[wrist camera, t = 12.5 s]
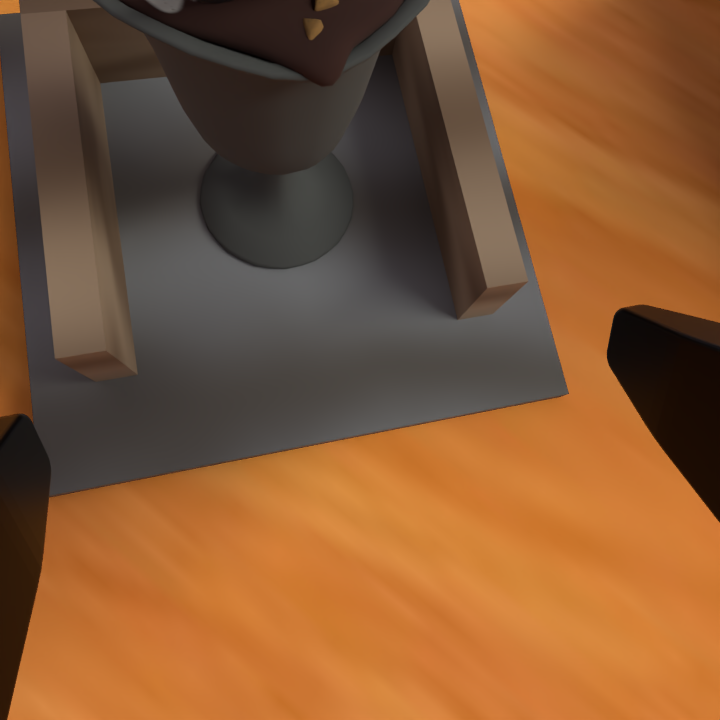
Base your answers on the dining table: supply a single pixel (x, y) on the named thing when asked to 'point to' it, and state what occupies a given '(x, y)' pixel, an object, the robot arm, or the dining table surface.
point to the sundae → (271, 109)
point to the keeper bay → (248, 282)
